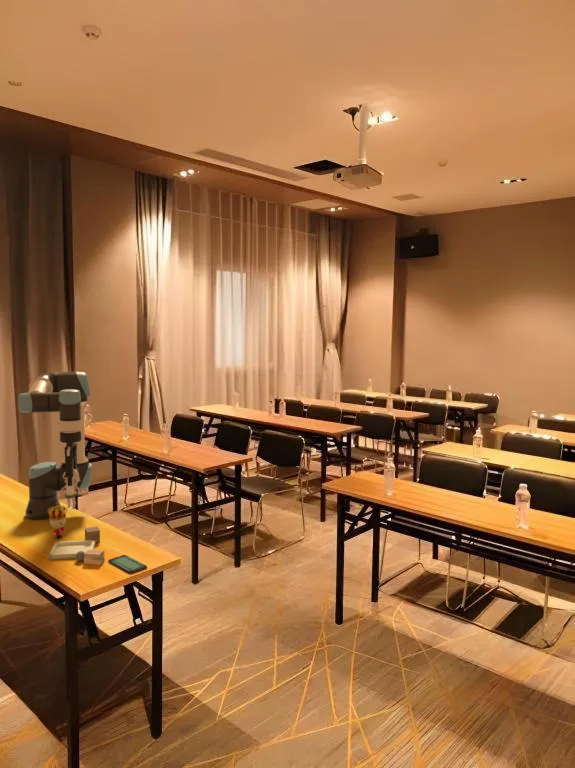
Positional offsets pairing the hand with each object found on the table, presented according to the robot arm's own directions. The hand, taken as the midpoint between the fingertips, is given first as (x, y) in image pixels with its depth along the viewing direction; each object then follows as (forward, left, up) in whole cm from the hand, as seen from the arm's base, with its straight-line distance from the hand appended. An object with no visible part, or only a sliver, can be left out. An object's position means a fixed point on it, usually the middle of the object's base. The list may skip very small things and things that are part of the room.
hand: (71, 491), depth 216 cm
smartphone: (+16, +21, -25) cm, 36 cm away
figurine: (0, 0, -7) cm, 7 cm away
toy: (-16, -8, -24) cm, 30 cm away
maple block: (+11, +9, -24) cm, 28 cm away
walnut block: (-10, +6, -24) cm, 27 cm away
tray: (0, 0, -24) cm, 24 cm away
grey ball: (+9, +4, -24) cm, 26 cm away
